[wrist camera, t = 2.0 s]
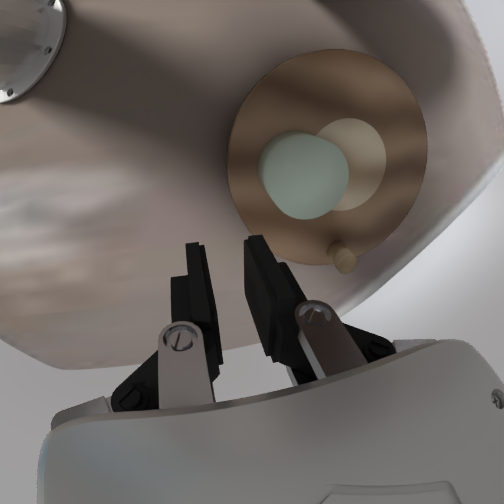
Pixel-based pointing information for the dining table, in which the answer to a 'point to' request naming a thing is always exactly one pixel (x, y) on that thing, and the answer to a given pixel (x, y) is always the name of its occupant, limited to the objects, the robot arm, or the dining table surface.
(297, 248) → the disc
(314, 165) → the sage green rounded cylinder
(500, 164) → the dining table surface
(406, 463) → the robot arm
